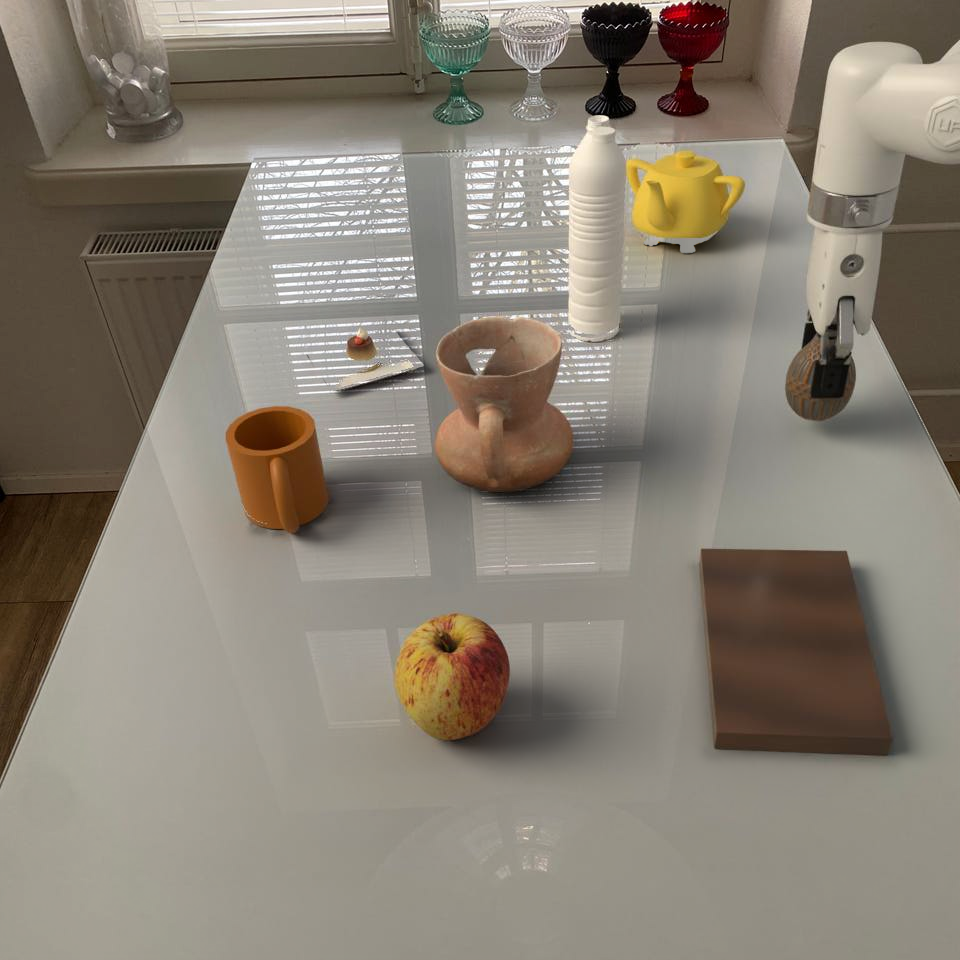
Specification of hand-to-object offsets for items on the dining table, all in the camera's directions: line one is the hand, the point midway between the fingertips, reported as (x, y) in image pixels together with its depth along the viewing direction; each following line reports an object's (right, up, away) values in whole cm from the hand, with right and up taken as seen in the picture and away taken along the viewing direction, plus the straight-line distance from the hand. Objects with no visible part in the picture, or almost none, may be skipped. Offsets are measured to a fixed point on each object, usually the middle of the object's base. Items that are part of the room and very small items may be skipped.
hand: (821, 376), depth 102 cm
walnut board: (-9, -28, -18) cm, 35 cm away
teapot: (-8, +29, +39) cm, 50 cm away
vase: (0, -3, +3) cm, 4 cm away
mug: (-55, -14, 0) cm, 57 cm away
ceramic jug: (-33, -9, +3) cm, 34 cm away
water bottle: (-21, +11, +22) cm, 32 cm away
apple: (-37, -34, -21) cm, 55 cm away
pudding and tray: (-50, +7, +21) cm, 54 cm away
